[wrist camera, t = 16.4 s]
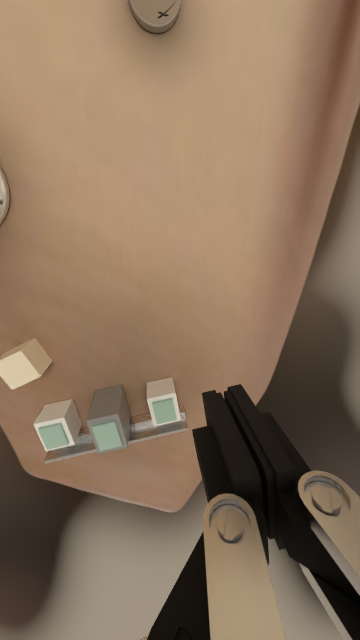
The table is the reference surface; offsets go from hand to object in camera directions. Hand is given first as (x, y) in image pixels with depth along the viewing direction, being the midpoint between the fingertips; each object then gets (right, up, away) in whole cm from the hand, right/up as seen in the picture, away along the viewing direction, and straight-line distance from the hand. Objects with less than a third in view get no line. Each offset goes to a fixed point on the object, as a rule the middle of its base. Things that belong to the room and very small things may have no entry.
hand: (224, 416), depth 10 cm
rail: (-14, -17, +38) cm, 44 cm away
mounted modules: (-15, -12, +36) cm, 41 cm away
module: (-15, -12, +36) cm, 41 cm away
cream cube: (-27, -2, +31) cm, 42 cm away
